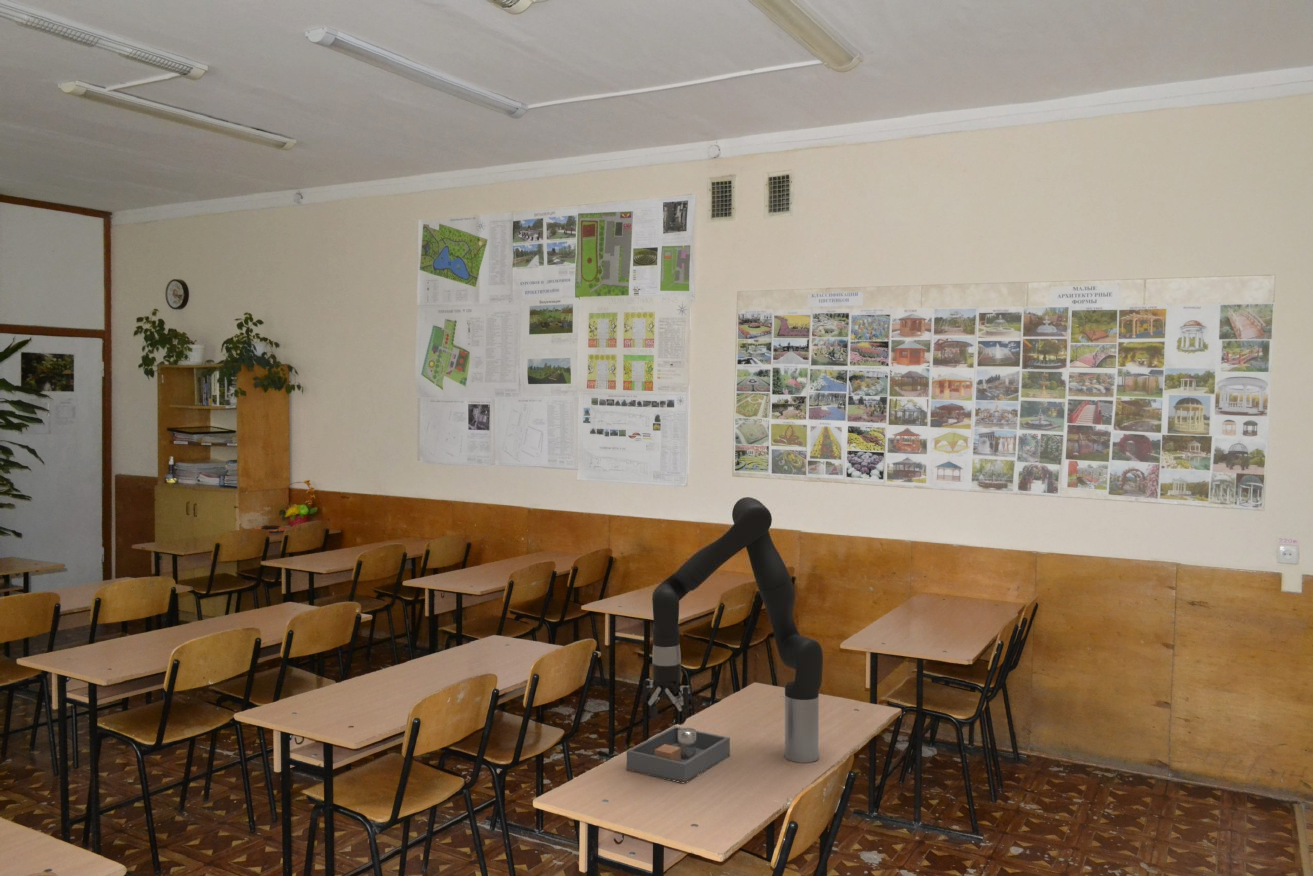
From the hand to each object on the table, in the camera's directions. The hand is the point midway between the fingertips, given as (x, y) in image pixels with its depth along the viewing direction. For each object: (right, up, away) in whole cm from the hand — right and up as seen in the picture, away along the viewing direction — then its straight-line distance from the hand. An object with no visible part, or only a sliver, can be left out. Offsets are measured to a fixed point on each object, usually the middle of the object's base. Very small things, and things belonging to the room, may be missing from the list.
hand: (667, 721), depth 251 cm
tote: (+3, -13, +5) cm, 14 cm away
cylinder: (+5, -12, +8) cm, 15 cm away
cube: (0, -12, 0) cm, 12 cm away
